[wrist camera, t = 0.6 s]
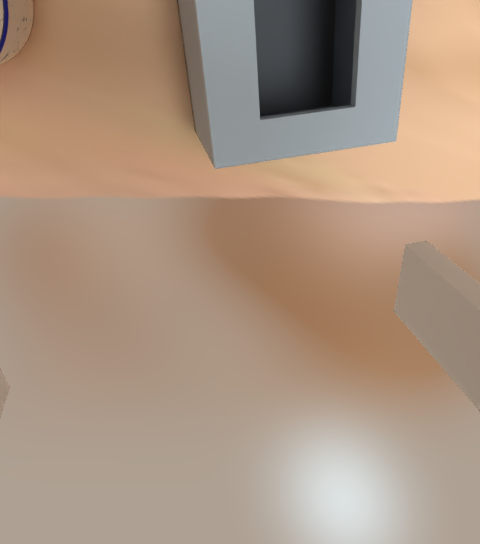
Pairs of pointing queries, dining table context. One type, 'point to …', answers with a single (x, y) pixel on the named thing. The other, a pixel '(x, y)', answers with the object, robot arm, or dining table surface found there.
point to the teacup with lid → (14, 26)
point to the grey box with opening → (293, 75)
